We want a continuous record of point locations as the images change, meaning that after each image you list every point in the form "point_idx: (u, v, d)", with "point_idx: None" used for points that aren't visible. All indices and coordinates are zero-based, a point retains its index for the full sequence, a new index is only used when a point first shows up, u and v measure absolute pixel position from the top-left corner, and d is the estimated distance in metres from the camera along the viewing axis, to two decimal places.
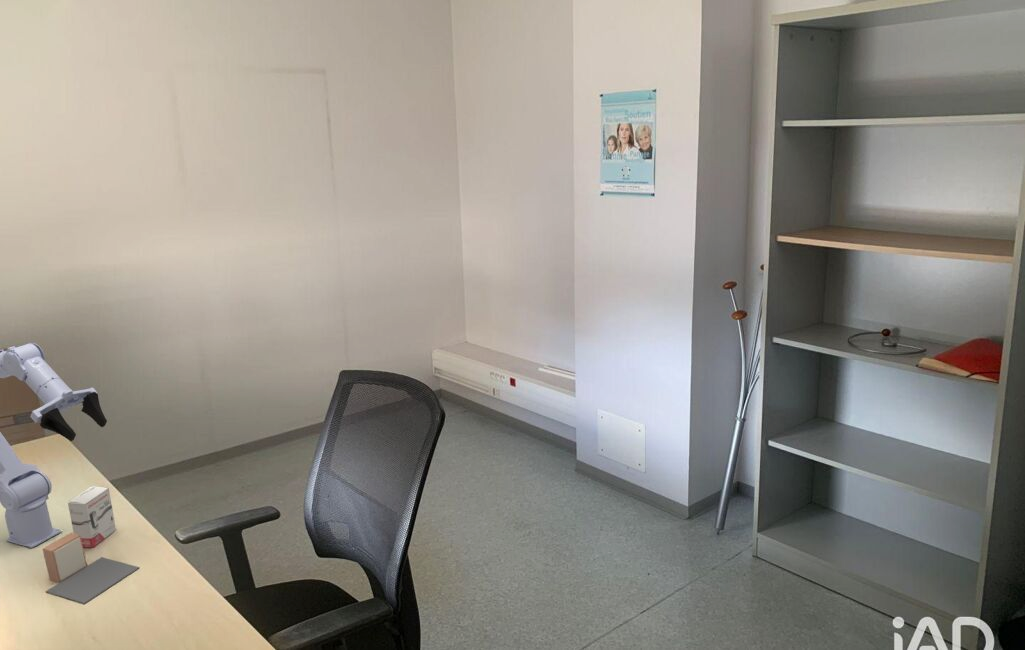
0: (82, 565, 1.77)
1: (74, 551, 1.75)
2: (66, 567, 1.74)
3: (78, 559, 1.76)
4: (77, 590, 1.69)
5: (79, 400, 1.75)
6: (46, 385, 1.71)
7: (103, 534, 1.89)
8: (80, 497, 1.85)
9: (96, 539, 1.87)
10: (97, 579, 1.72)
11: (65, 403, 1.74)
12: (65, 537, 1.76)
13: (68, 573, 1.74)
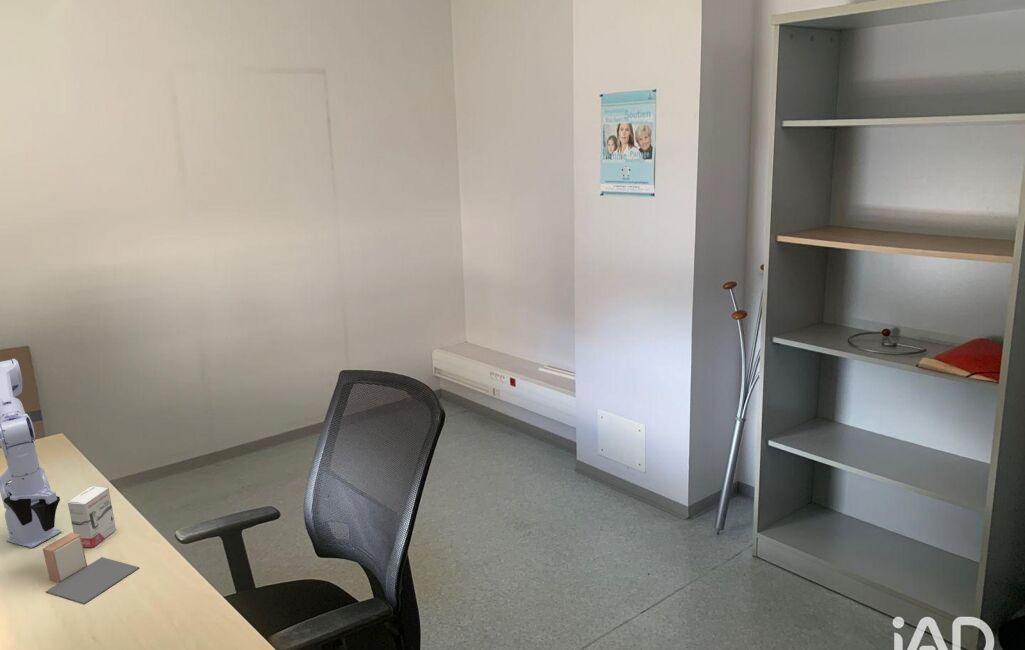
0: (82, 565, 1.77)
1: (74, 551, 1.75)
2: (66, 567, 1.74)
3: (78, 559, 1.76)
4: (77, 590, 1.69)
5: None
6: None
7: (103, 534, 1.89)
8: (79, 497, 1.85)
9: (96, 539, 1.87)
10: (97, 579, 1.72)
11: None
12: (65, 537, 1.76)
13: (68, 573, 1.74)
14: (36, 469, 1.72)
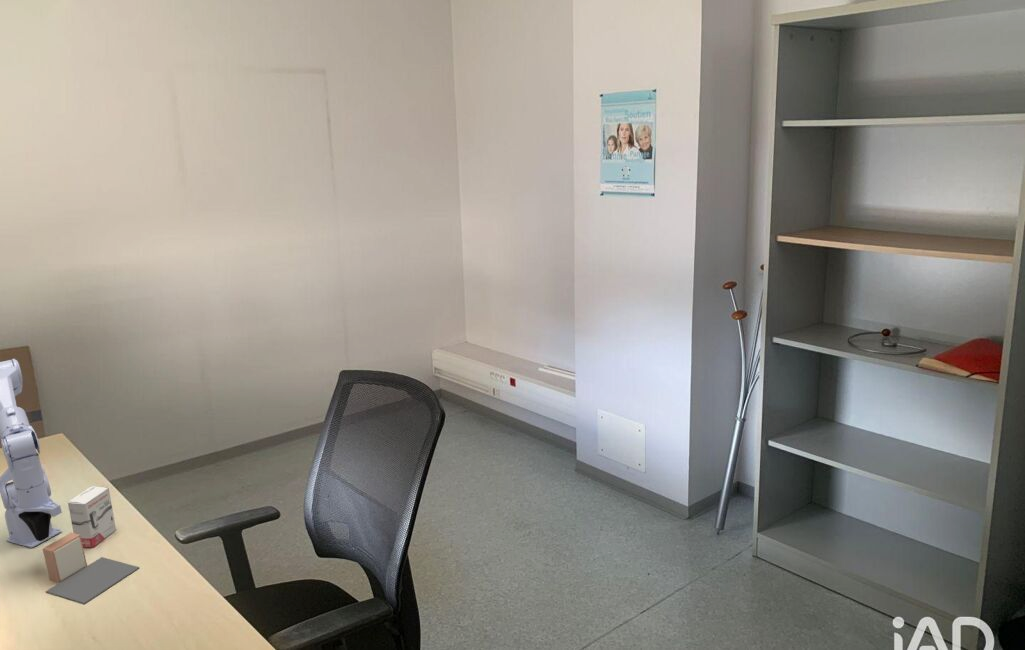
0: (82, 565, 1.77)
1: (74, 551, 1.75)
2: (66, 567, 1.74)
3: (78, 559, 1.76)
4: (77, 590, 1.69)
5: (43, 510, 1.73)
6: None
7: (103, 534, 1.89)
8: (80, 497, 1.85)
9: (96, 539, 1.87)
10: (97, 579, 1.72)
11: None
12: (65, 537, 1.76)
13: (68, 573, 1.74)
14: (41, 482, 1.73)
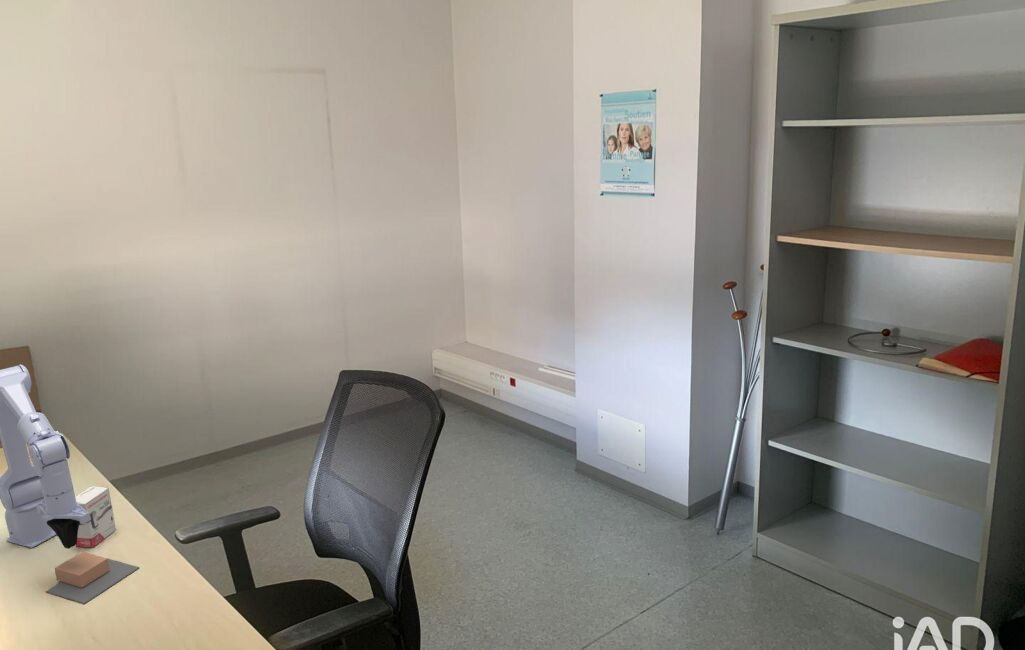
0: None
1: None
2: None
3: None
4: (77, 590, 1.69)
5: None
6: None
7: (103, 534, 1.89)
8: (79, 497, 1.85)
9: (96, 539, 1.87)
10: (97, 579, 1.72)
11: None
12: (100, 566, 1.73)
13: None
14: (71, 487, 1.69)
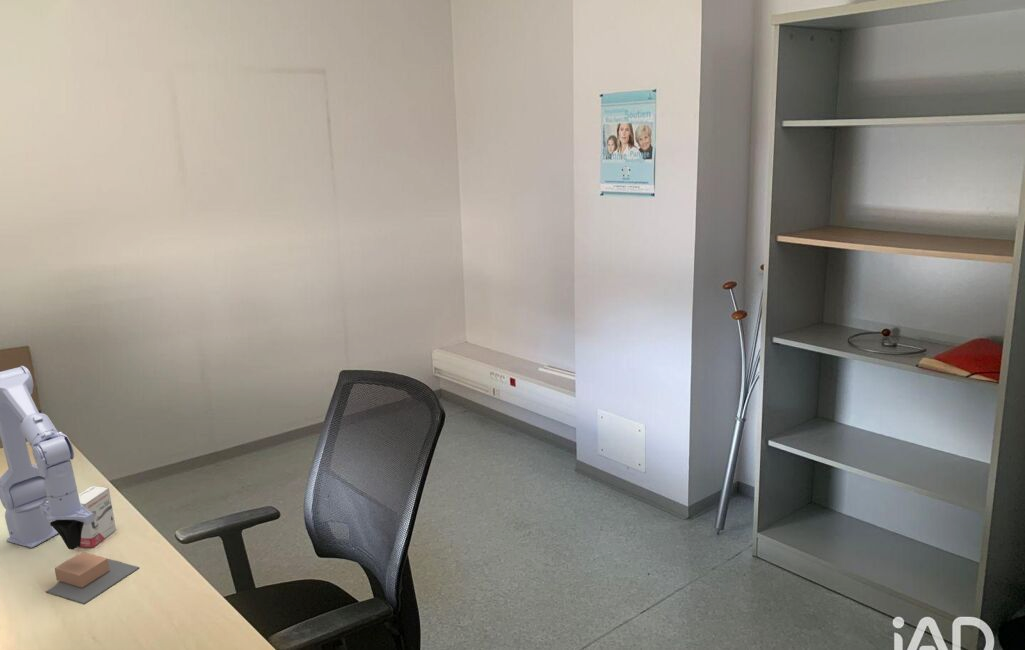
0: None
1: None
2: None
3: None
4: (77, 590, 1.69)
5: None
6: None
7: (103, 534, 1.89)
8: (80, 497, 1.85)
9: (96, 539, 1.87)
10: (97, 579, 1.72)
11: None
12: (100, 566, 1.73)
13: None
14: (75, 488, 1.69)
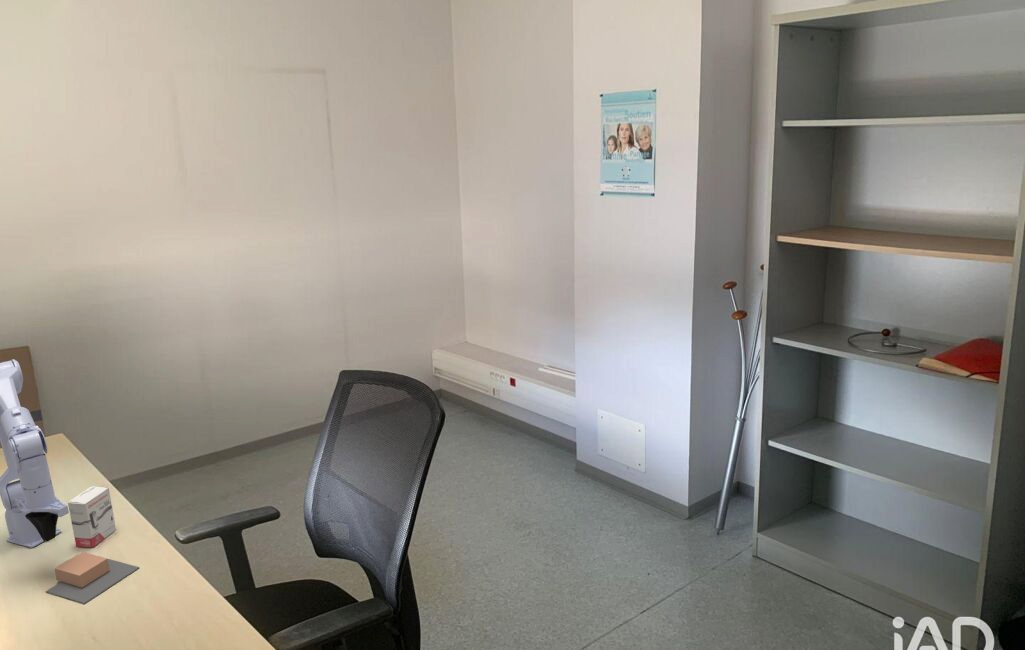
0: None
1: None
2: None
3: None
4: (77, 590, 1.69)
5: None
6: None
7: (103, 534, 1.89)
8: (80, 497, 1.85)
9: (96, 539, 1.87)
10: (97, 579, 1.72)
11: None
12: (100, 566, 1.73)
13: None
14: (48, 482, 1.72)
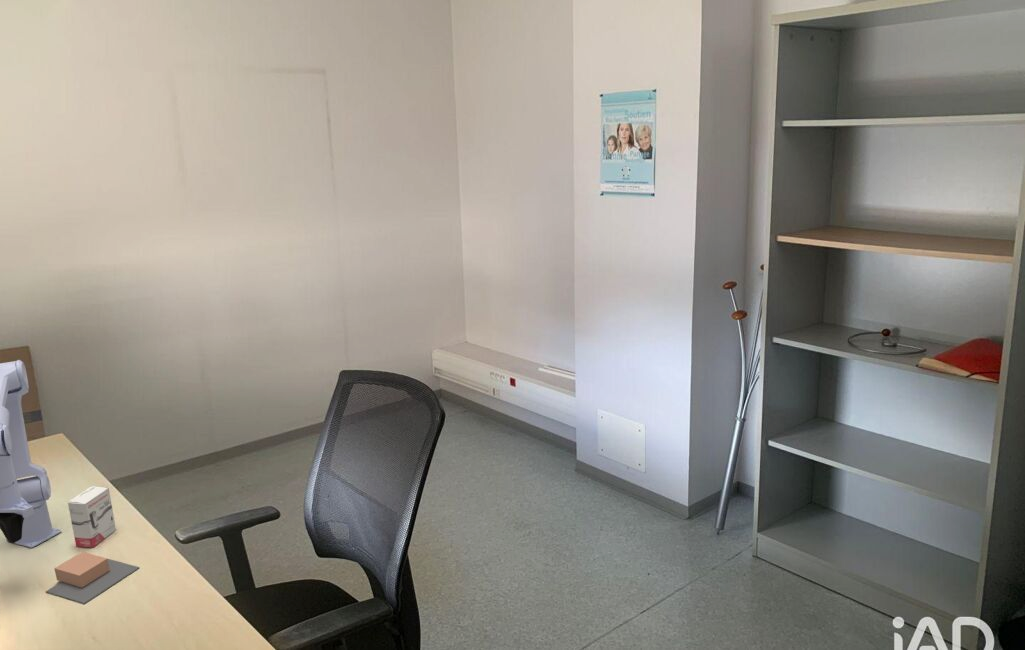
0: None
1: None
2: None
3: None
4: (77, 590, 1.69)
5: None
6: None
7: (103, 534, 1.89)
8: (80, 497, 1.85)
9: (96, 539, 1.87)
10: (97, 579, 1.72)
11: None
12: (100, 566, 1.73)
13: None
14: (10, 483, 1.66)
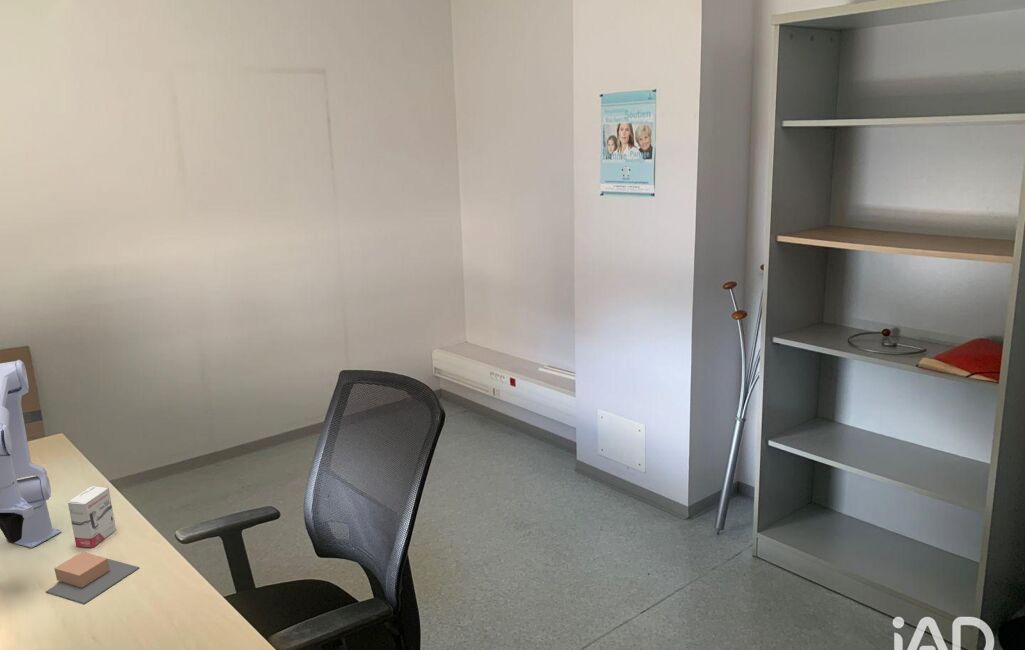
0: None
1: None
2: None
3: None
4: (77, 590, 1.69)
5: None
6: None
7: (103, 534, 1.89)
8: (80, 497, 1.85)
9: (96, 539, 1.87)
10: (97, 579, 1.72)
11: None
12: (100, 566, 1.73)
13: None
14: (10, 483, 1.66)
